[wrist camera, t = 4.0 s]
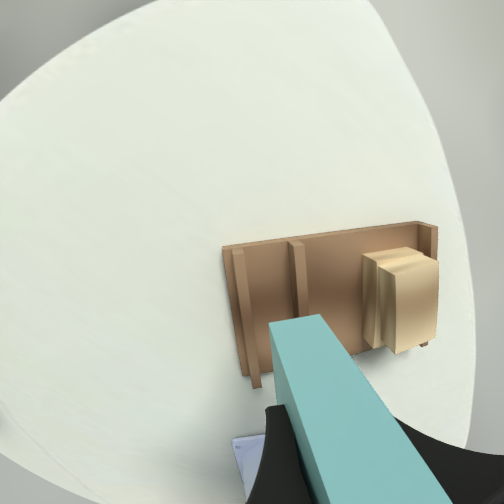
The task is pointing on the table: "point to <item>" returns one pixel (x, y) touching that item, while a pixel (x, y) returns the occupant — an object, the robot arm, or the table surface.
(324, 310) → the walnut rack
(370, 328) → the lower oak offcut
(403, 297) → the upper oak offcut
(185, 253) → the table surface
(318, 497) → the teal block
